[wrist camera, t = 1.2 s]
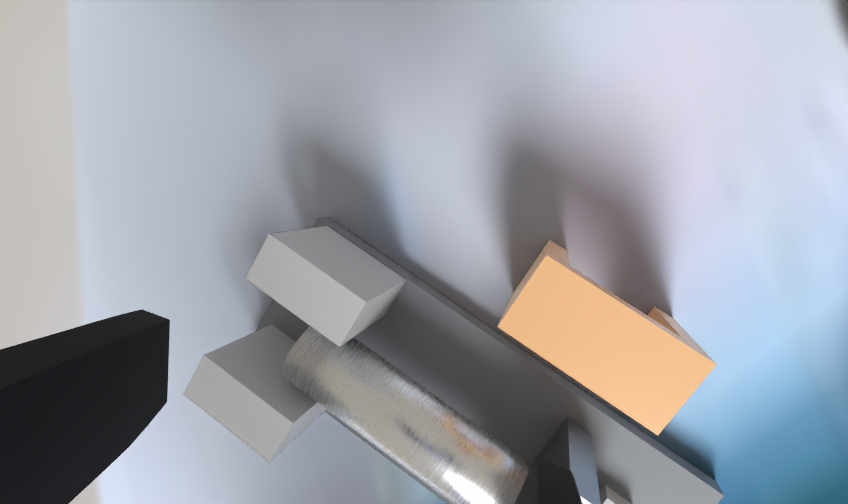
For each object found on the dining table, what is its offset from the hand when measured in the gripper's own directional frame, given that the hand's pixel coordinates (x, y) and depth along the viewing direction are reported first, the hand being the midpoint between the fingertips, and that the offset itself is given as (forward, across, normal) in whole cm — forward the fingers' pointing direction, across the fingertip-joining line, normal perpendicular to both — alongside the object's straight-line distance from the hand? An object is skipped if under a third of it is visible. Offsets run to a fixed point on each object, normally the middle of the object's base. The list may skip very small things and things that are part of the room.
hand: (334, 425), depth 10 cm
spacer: (+12, -6, +2) cm, 13 cm away
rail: (+11, -2, +7) cm, 13 cm away
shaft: (+9, -2, +7) cm, 12 cm away
